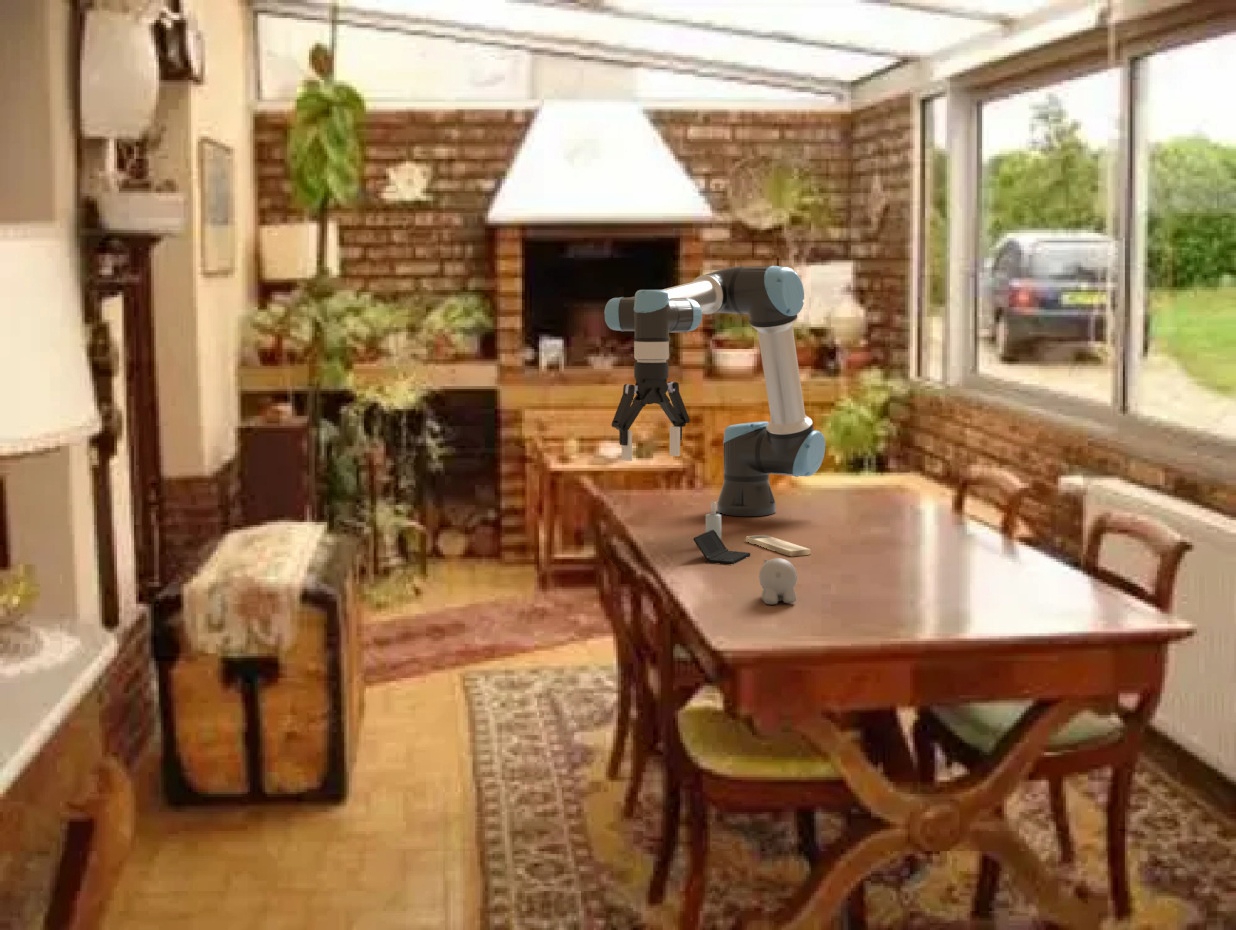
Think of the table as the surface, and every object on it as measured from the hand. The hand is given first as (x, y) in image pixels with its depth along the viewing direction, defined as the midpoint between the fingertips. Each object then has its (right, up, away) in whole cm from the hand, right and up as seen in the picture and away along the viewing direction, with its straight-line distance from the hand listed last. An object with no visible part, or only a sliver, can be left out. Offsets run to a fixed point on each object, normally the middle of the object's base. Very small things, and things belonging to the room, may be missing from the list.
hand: (651, 458), depth 338 cm
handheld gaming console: (+16, -22, 0) cm, 27 cm away
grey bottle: (+15, -20, +15) cm, 29 cm away
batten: (+29, -20, +11) cm, 37 cm away
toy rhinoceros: (+23, -28, -41) cm, 54 cm away
